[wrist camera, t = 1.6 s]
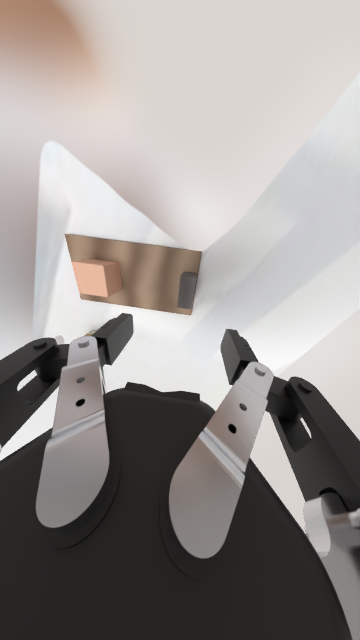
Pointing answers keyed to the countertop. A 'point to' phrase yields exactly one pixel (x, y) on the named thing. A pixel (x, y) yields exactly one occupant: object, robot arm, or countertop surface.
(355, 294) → the countertop surface
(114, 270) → the terracotta block
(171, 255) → the walnut strip
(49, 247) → the countertop surface
